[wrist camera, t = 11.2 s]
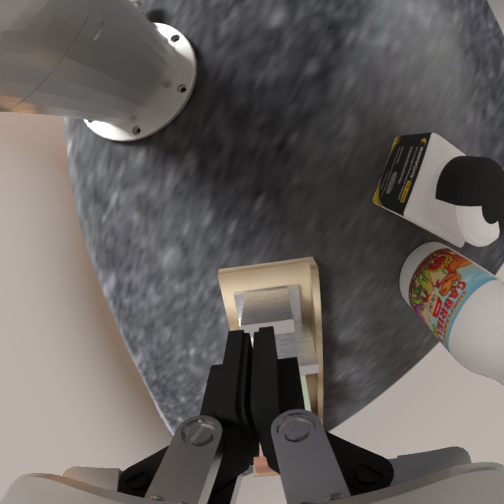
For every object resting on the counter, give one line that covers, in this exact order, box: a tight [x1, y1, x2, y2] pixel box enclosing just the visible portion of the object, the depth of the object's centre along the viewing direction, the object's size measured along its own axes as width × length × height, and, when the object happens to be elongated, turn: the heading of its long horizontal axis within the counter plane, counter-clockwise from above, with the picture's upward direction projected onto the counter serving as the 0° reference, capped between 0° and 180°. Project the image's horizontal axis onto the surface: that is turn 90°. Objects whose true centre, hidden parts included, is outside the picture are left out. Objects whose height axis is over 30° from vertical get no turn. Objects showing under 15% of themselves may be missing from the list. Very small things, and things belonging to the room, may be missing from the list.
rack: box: [218, 256, 323, 477], centre depth 27 cm, size 24×9×9 cm, turn 9°
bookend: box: [234, 284, 319, 376], centre depth 24 cm, size 5×7×7 cm
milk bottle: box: [399, 242, 504, 385], centre depth 18 cm, size 8×8×20 cm
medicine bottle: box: [372, 133, 504, 248], centre depth 19 cm, size 7×7×12 cm
